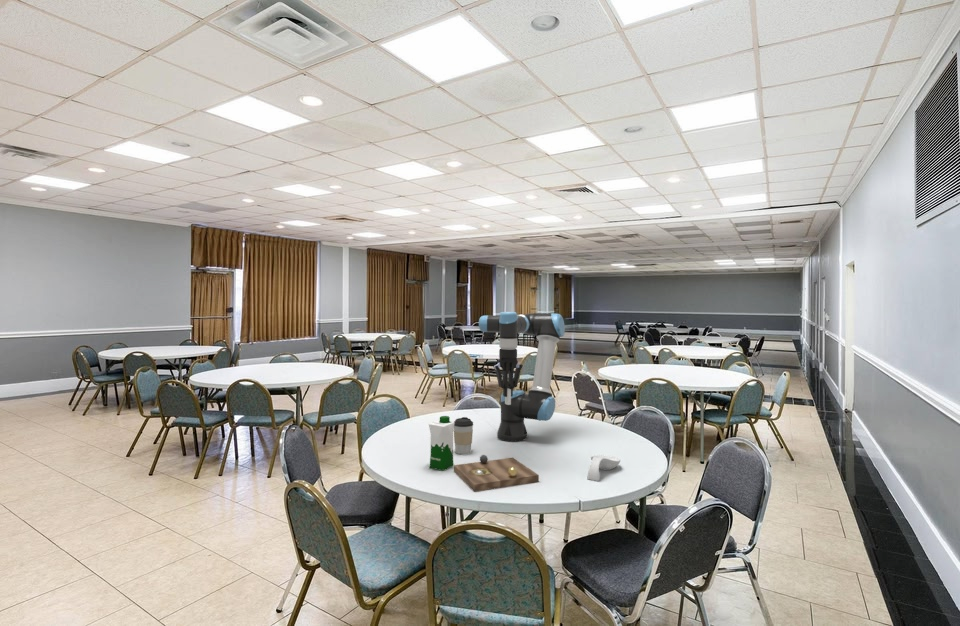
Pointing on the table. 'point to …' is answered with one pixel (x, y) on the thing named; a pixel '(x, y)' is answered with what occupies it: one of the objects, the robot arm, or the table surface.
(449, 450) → the milk carton
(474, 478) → the board
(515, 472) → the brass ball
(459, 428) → the coffee cup
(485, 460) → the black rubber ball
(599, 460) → the white curved piece
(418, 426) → the table surface
